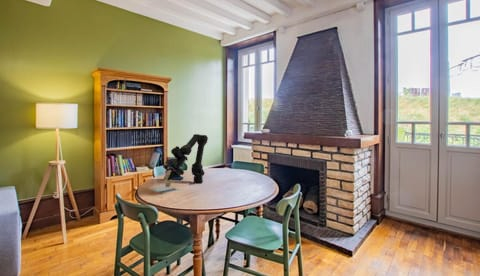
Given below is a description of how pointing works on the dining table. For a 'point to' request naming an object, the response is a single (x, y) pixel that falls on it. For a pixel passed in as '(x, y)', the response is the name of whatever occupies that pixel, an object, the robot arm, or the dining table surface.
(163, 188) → the board
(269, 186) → the dining table surface
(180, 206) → the dining table surface
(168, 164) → the handheld scanner
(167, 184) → the birch peg
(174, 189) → the strip
